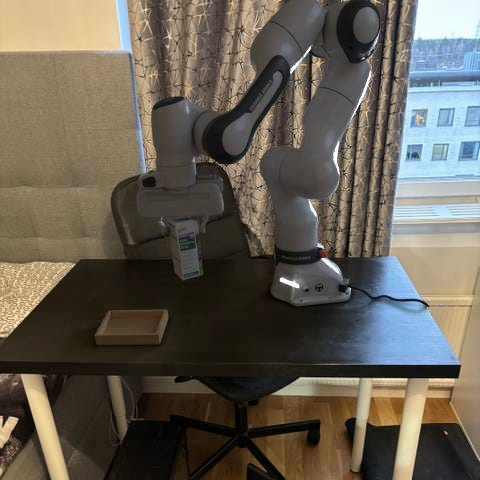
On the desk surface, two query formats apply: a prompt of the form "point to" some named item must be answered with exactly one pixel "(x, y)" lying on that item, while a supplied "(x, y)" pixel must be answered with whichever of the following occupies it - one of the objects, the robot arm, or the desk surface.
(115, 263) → the desk surface
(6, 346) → the desk surface
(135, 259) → the desk surface
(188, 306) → the desk surface
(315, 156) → the robot arm
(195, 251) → the syrup box
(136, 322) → the tray
